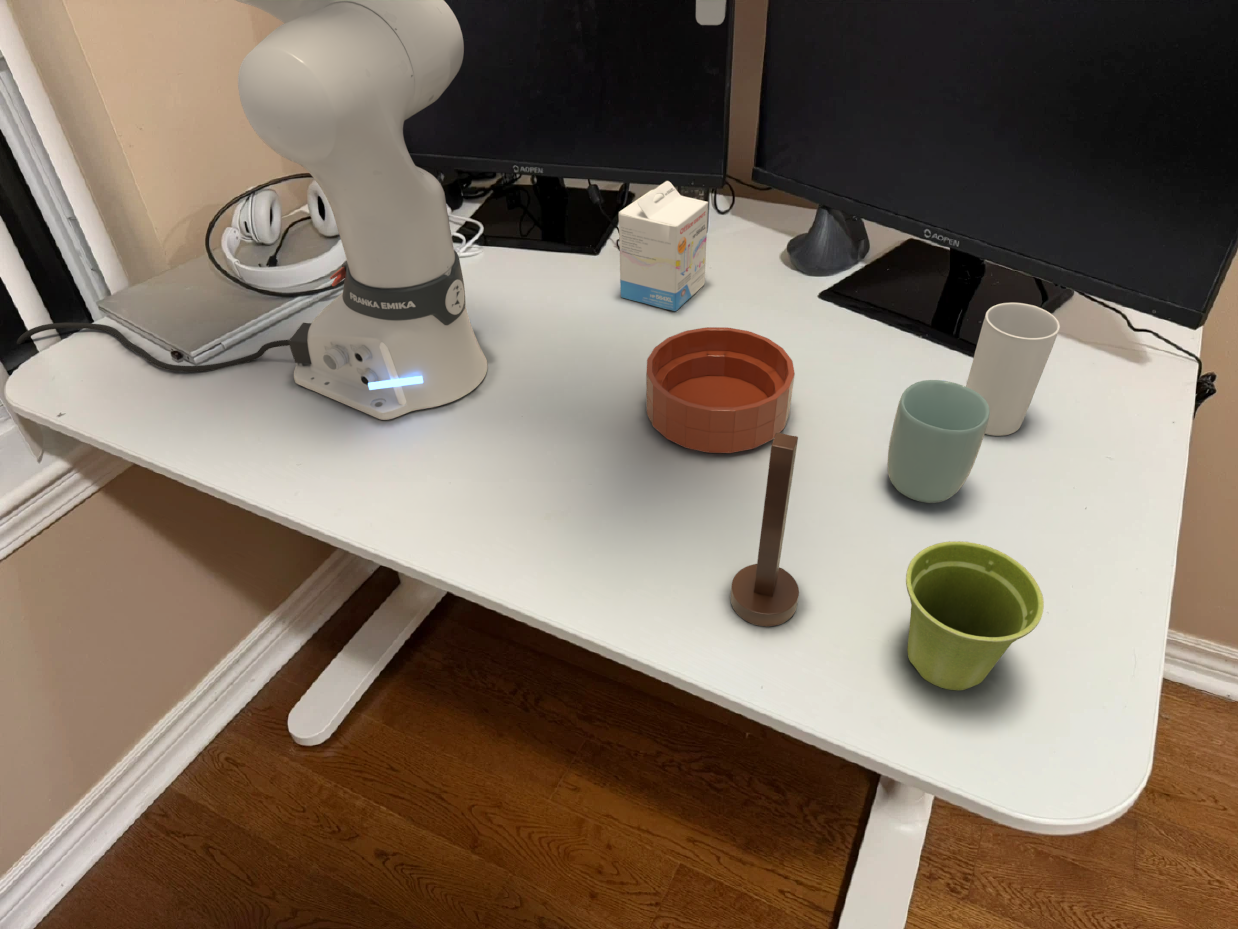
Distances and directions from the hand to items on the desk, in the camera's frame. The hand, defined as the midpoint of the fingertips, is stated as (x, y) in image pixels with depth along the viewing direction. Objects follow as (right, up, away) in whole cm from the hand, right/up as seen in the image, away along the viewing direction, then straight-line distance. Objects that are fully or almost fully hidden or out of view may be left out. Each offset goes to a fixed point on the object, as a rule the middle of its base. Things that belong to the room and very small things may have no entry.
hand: (717, 4), depth 57 cm
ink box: (-1, -8, +55) cm, 55 cm away
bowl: (+4, -25, +35) cm, 43 cm away
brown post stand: (+6, -43, +15) cm, 45 cm away
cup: (+23, -34, +25) cm, 48 cm away
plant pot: (+19, -47, +10) cm, 52 cm away
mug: (+34, -26, +34) cm, 54 cm away
